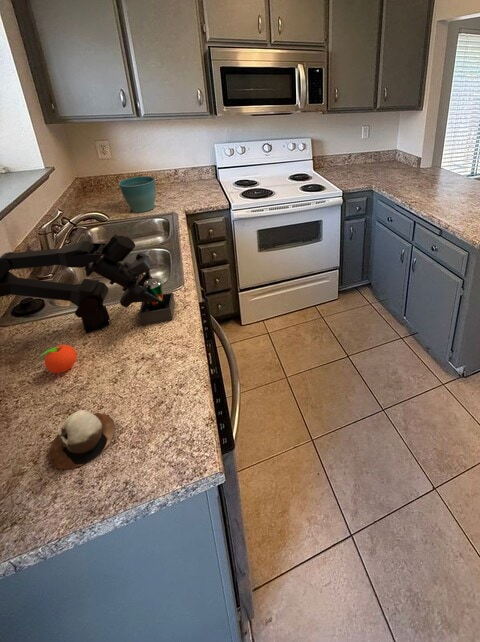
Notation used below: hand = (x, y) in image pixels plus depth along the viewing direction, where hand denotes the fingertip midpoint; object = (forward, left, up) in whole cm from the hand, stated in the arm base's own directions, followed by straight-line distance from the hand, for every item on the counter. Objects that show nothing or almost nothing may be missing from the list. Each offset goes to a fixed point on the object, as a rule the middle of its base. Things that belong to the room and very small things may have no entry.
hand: (159, 295), depth 115 cm
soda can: (-1, +1, -7) cm, 7 cm away
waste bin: (-1, +1, -7) cm, 7 cm away
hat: (-26, -34, -7) cm, 44 cm away
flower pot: (+18, +105, -7) cm, 106 cm away
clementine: (-28, -7, -7) cm, 30 cm away
